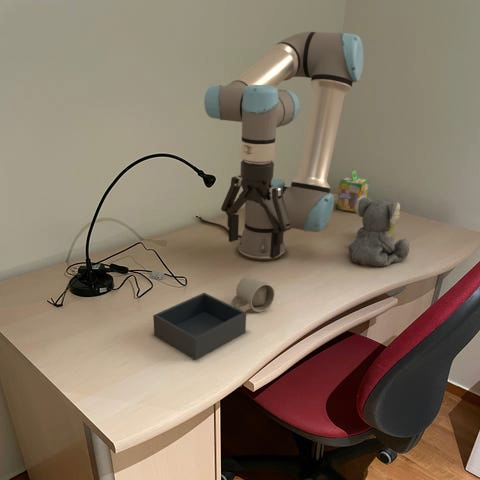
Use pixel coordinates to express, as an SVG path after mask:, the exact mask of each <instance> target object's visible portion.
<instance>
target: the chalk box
mask: <svg viewBox="0 0 480 480" xmlns="http://www.w3.org/2000/svg"><path fill="white" fill-rule="evenodd" d="M369 182H370V180H369V179H367V178H362V177H358V176H357V170H356V169H355V170H353V171H351V176H346V177H344V178H342V179H340V180H339V187H338V189H339V190H338V197H337V207H336V210H340V211H346V212H353V213H356V211H355V208H356V207H355V205H356V204H357V202H356V201H357V199H358V198H359V197H363V196H365V197H368V189H369V184H370V183H369Z"/></svg>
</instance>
